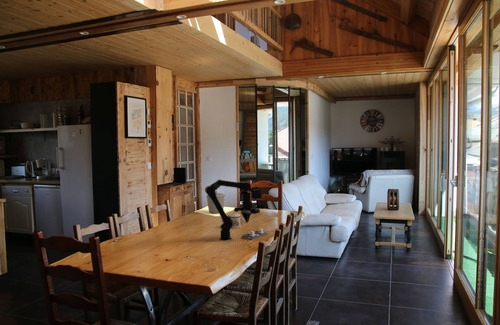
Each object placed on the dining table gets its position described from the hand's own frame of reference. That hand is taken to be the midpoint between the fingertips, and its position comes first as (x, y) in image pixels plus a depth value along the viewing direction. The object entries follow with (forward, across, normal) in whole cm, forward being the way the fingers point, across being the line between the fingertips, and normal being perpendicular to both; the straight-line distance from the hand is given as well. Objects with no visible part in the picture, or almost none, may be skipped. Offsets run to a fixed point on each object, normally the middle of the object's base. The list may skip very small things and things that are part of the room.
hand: (247, 222), depth 267 cm
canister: (+11, +86, -60) cm, 105 cm away
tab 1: (+9, -4, 0) cm, 10 cm away
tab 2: (+9, -4, -10) cm, 14 cm away
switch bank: (+10, -2, -5) cm, 12 cm away
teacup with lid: (+11, +28, -22) cm, 37 cm away
